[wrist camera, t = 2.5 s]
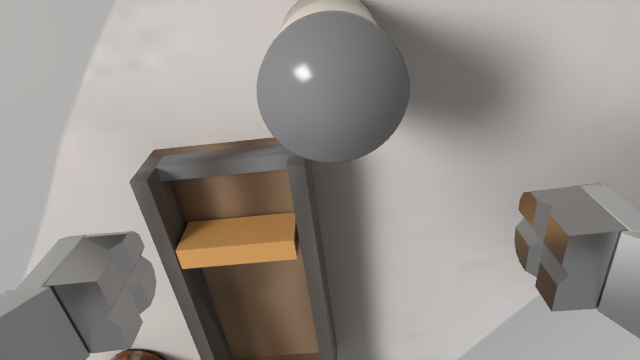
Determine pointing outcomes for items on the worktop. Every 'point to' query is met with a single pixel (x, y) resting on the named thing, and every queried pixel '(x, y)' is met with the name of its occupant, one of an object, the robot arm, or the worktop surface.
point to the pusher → (239, 241)
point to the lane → (251, 278)
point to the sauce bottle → (135, 355)
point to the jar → (332, 82)
